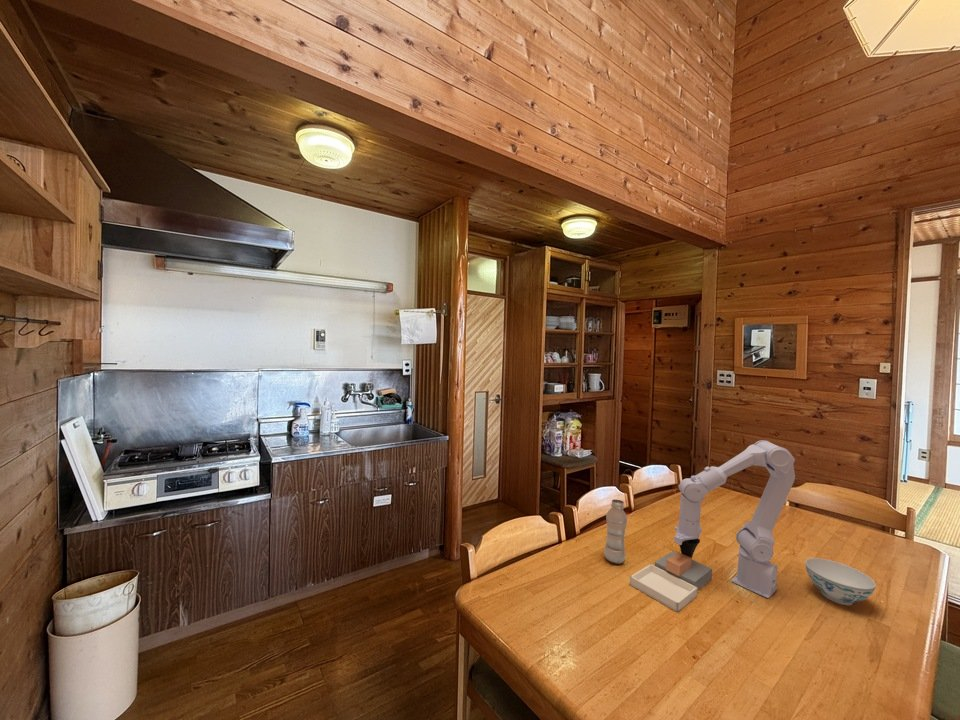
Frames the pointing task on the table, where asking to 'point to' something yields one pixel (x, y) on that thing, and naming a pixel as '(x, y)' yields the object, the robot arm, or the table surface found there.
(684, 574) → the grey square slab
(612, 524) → the plastic bottle
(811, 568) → the chinaware
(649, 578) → the tray
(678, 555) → the orange brown block
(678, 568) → the terracotta block
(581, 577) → the table surface
